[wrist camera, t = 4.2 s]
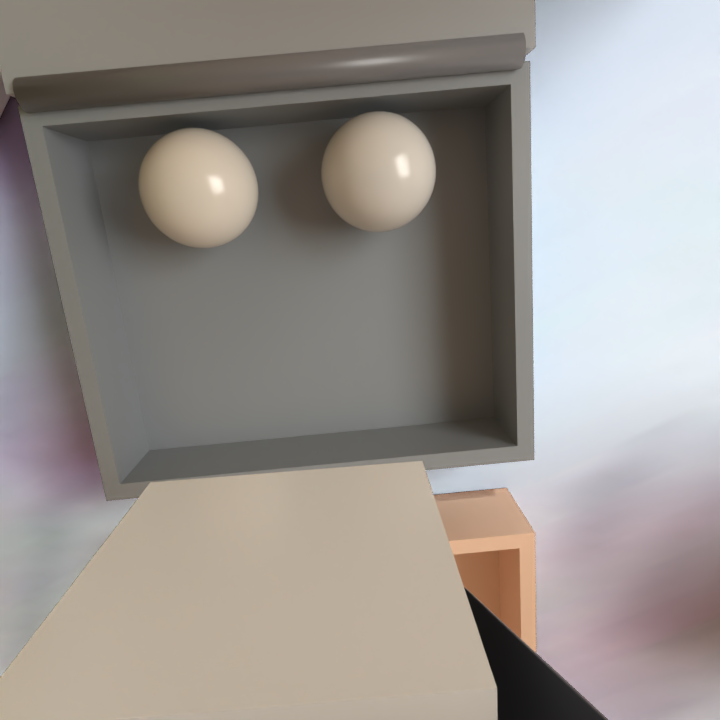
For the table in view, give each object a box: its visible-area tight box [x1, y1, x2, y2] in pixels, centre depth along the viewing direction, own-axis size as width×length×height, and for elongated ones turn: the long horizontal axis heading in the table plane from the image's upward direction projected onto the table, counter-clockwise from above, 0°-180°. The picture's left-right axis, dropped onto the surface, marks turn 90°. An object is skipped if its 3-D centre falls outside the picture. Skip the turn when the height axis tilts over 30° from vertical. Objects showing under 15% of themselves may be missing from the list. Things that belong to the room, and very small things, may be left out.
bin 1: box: [0, 0, 535, 501], centre depth 15 cm, size 13×22×4 cm, turn 5°
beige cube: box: [0, 461, 498, 720], centre depth 6 cm, size 4×4×4 cm
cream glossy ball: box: [321, 111, 436, 232], centre depth 15 cm, size 3×3×3 cm
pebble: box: [138, 128, 258, 248], centre depth 15 cm, size 3×3×3 cm
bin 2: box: [434, 488, 536, 652], centre depth 19 cm, size 12×10×3 cm
